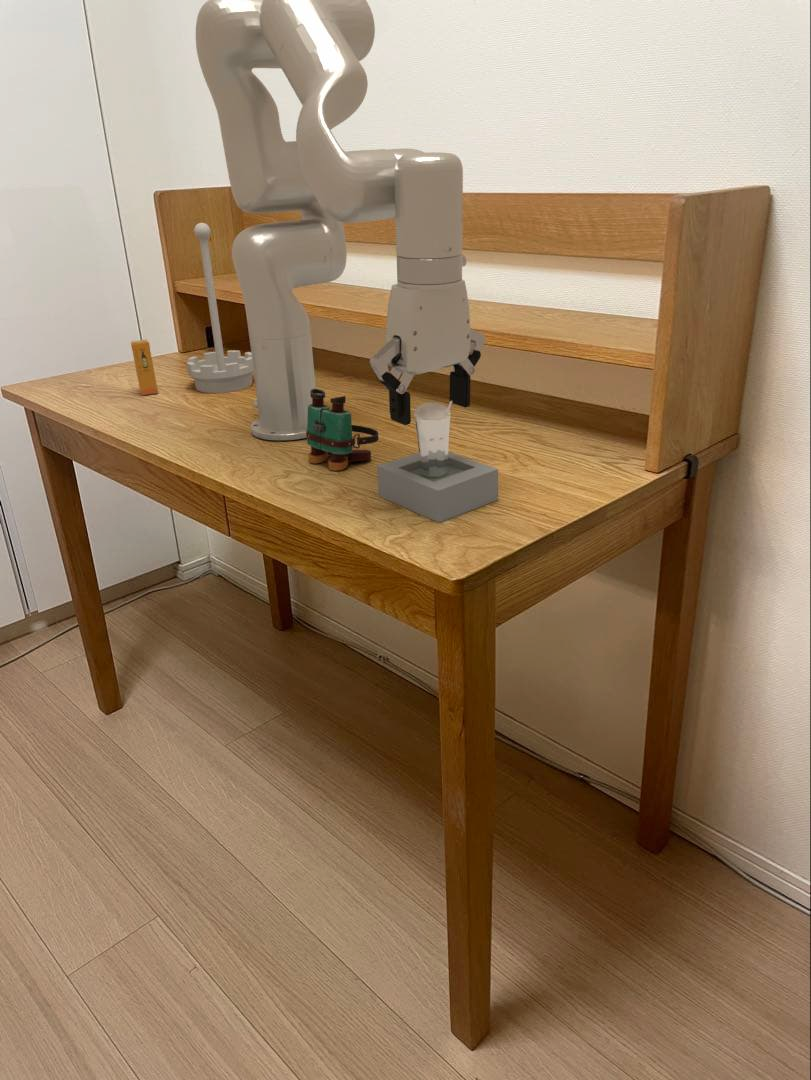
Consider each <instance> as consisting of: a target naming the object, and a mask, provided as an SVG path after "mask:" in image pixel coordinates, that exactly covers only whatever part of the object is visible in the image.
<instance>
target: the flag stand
mask: <svg viewBox="0 0 811 1080" xmlns="http://www.w3.org/2000/svg"><path fill="white" fill-rule="evenodd" d="M211 232H212V231H211V228H210V227H209V225H208V224H207V223H205V222H199V223H197V224H196V225H195V226H194V228H193V233H194V235H195V237H196V238H197V239H199V245H200V246H199V247H200V252H201V253H200V254H201V258H202V259H201V260H202V267H203V274H204V282H205V289H206V297H207V302H208V309H209V315H210V322H211V323H210V324H211V330H212V331H211V332H212V336H213V345H214V351H209V352H204V353H203V359H199V356H195V355H194V356H191V357H189V358H187V359H186V360H187V362H186V369H187V373H188V376H190V377H191V378H192V379H194V383H195V389H196V390H197V391H199V392H201V393H209V394H221V393H222V394H223V393H231V392H236V391H241V390H244V389H247V388H249V387H251V386H252V385H253V375H252V374H253V373H254V370H253V362H252V354H251V351H246V352H244V356H241V355H242V354H241V350H234V349H233V350H232V349H231V350H227V351H226V353H227V356H225V353H224V346H223V339H222V333H221V325H220V323H221V322H220V319H219V318H220V317H219V310H218V304H217V303H218V302H217V295H216V288H215V280H214V275H213V273H214V272H213V267H212V260H211V253H210V246H209V240H208V239H209V238H210V236H211Z"/></svg>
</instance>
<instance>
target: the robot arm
mask: <svg viewBox="0 0 811 1080" xmlns="http://www.w3.org/2000/svg"><path fill="white" fill-rule="evenodd" d="M375 33H376V27H375V20H374V15H373V12H372V9H371V6H370V5H369V3H368V1H367V0H207V1H205V3H204V4H203V5H202V6H201V8H200V9H199V10H198V13H197V18H196V22H195V49H196V55H197V58H198V62H199V66H200V70H201V72H202V75H203V78H204V81H205V83H206V86H207V88H208V91H209V93H210V95H211V98H212V101H213V103H214V107H215V110H216V112H217V117H218V121H219V128H220V134H221V139H222V145H223V151H224V156H225V157H224V158H225V162H226V163H225V164H226V168H227V174H228V179H229V184H230V189H231V193H232V196H233V199H234V201H235V204H236V205H237V207H238V208H239V209H240V210H241V211H242V212H245V213H248V214H261V215H263V214H277V213H287V212H295V211H296V212H297V211H299V213H300V217H301V219H300V220H293V221H288V220H287V221H286V220H285V221H277V222H269V223H260V224H255V225H253V226H250V227H246V228H245V229H243V230H242V231H240V232H239V233H238V234H237V235H236V237H235V239H234V241H233V243H232V250H231V256H232V261H233V266H234V270H235V272H236V273H235V274H236V277H237V280H238V283H239V286H240V290H241V294H242V298H243V303H244V309H245V314H246V322H247V323H246V324H247V329H248V336H249V345H250V352H251V354H252V362H253V370H254V371H253V377H254V385H255V392H256V393H255V394H256V400H254V402H253V408H255V409H257V410H258V416H259V417H258V418H257V419H255V420H254V421H253V422H252V423H251V425H250V430H251V433H252V435H254V437H257V438H259V439H262V440H266V441H276V442H277V441H294V440H301V439H307V437H306V431H307V419H308V405H310V404H312V398H311V393H310V391H311V390H312V389H317V387H316V377H315V367H314V354H313V343H312V333H311V326H310V325H311V322H310V318H309V315H308V313H307V309H305V307H304V306H303V304H302V303H301V302H300V301H299V300H298V298H297V297H296V296H295V294H294V292H293V289H297V288H300V287H307V286H315V285H319V284H320V285H321V284H325V283H331V282H333V281H336V280H338V279H339V278H340V277H341V276H342V275H343V273H344V271H345V269H346V265H347V255H348V254H347V241H346V233H345V227H344V223H346V224H351V223H354V224H355V223H363V222H371V221H380V220H381V221H382V220H394V219H395V240H396V241H395V243H396V244H395V245H396V249H395V250H396V251H395V252H396V277H397V278H396V279H397V280H396V281H397V282H396V284H393V285H391V287H390V293H389V298H388V304H387V312H386V323H385V324H386V326H385V345H384V346H383V347H382V348H380V349H379V350H378V351H377V352H376V353H375V354H374V355H373V356H372V357H371V358H370V359H369V364H370V366H371V368H372V370H373V372H374V374H376V375H375V377H376V379H377V380H378V381H379V382H380V383H381V384H382V385H383V387H384V388H385V389H386V390H388V393H389V394H388V400H389V402H388V403H389V406H388V407H389V414H390V416H389V417H390V420H391V421H394V422H396V423H399V424H401V425H404V426H407V425H410V424H411V422H412V415H411V412H412V411H411V410H412V409H411V407H412V406H411V394H410V392H409V391H407V389H408V387H409V386H410V384H411V381H412V380H413V378H414V377H415V375H422V374H424V373H429V372H433V371H438V370H441V369H445V368H449V367H451V368H452V369H453V371H449V402H450V401H452V404H453V405H458V406H460V407H463V408H469V407H470V406H471V376H473V375H474V374H475V371H476V368H475V366H476V365H477V364H478V363H479V361H480V358H481V357H482V350H483V348H484V344H485V342H486V339H487V336H486V334H485V333H481V332H480V331H477V330H476V329H474V328H471V315H470V305H469V304H470V303H469V297H468V289H467V286H466V282H465V280H464V279H463V267H465V266H466V265H467V257H466V256H465V255H463V220H464V219H463V214H464V213H463V211H464V210H463V209H464V207H463V205H464V204H463V203H464V202H463V199H464V197H463V196H464V192H463V191H464V183H463V182H464V168H463V167H464V166H463V163H462V161H461V159H460V157H459V156H457V155H456V154H454V153H450V152H425V151H421V150H418V149H414V148H390V149H388V148H387V149H385V148H382V149H379V148H377V149H364V150H363V149H362V150H361V149H360V150H352V151H351V150H347V151H345V150H344V149H343V148H342V147H341V145H340V144H339V143H338V141H337V139H336V137H335V136H334V134H333V133H332V129H334V128H335V127H337V126H339V125H340V124H341V123H344V122H345V121H347V120H348V119H350V117H352V115H353V114H355V112H357V110H358V109H359V108H360V107H361V105H362V104H363V102H364V100H365V98H366V95H367V92H368V86H369V85H368V76H367V73H366V71H365V68H364V67H363V65H362V64H361V61H362V60H364V59H365V58H367V56H368V54H369V53H370V52H371V49H372V48H373V45H374V39H375ZM253 69H281V70H282V72H283V74H284V75H285V77H286V79H287V80H288V83H289V84H290V86H291V88H292V90H293V92H295V95H296V97H297V98H298V100H299V102H300V104H301V105H302V107H301V110H300V112H299V115H298V118H297V123H296V129H295V132H296V133H295V139H296V140H295V141H294V140H293V141H290V140H289V141H286V140H285V139H284V137H283V134H282V133H283V132H282V128H281V121H280V114H279V110H278V106H277V104H276V101H275V99H274V98H273V96H272V95H271V93H270V92H269V90H268V88H267V87H266V85H264V83H263V81H261V80H260V79H259V77H258V76H257V75H256V74H254V72H253ZM389 368H391V370H389Z"/></svg>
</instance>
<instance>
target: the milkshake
mask: <svg viewBox="0 0 811 1080" xmlns="http://www.w3.org/2000/svg"><path fill="white" fill-rule="evenodd" d="M452 404H453V403H452V401H450V400H449V404H448V406H447V405H445V404H443V403H441V402H425V403H422V404H420V405H419V406H417V407H416V408H415V410H414V412H413V416H414V422H415V423H414V424H415V430H416V437H417V438H416V439H417V447H418V452H419V456H420V465H421V473H422V474H423V476H426V477H441V476H444V475H445V474H446V473H447V466H448V452H449V443H450V442H449V441H450V440H449V439H450V427H451V426H450V425H451V413H452V412H451V406H452Z"/></svg>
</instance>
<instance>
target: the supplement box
mask: <svg viewBox="0 0 811 1080" xmlns="http://www.w3.org/2000/svg"><path fill="white" fill-rule="evenodd" d="M150 345H151V344H150V342H149V340H148V339H141V340H133V341H130V346H131V350H132V351H131V352H132V356H133V360H134V366H135V370H136V376H137V381H138V387H139V391H140V395H141V396H143V397H144V396H148V395H156V394H159V390H158V389H159V388H158V385H157V379H156V374H155V369H154V364H153V363H154V362H153V358H152V354H151V353H152V352H151V346H150Z"/></svg>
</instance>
